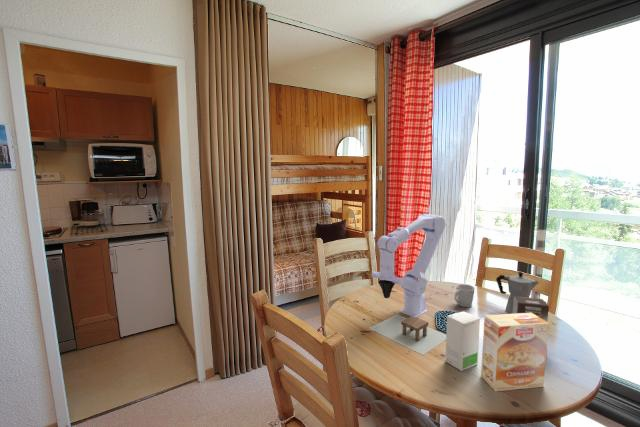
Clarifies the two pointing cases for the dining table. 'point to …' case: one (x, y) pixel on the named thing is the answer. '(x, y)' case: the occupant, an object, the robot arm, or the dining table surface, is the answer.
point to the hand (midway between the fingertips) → (386, 297)
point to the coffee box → (531, 306)
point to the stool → (415, 326)
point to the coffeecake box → (514, 351)
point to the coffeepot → (516, 288)
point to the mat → (409, 335)
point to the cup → (464, 295)
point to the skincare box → (462, 340)
